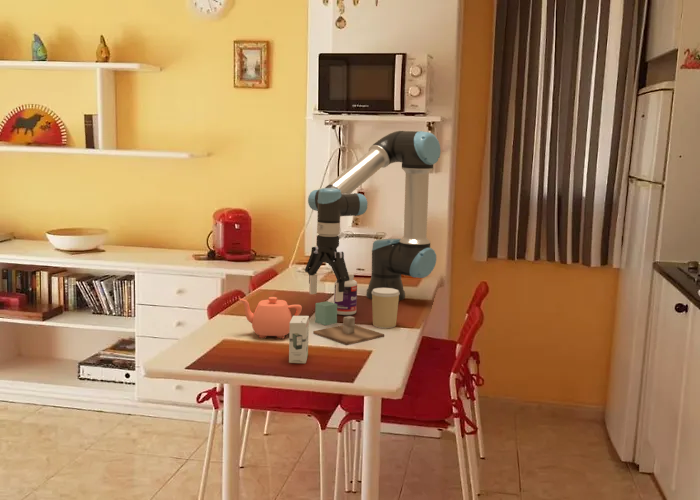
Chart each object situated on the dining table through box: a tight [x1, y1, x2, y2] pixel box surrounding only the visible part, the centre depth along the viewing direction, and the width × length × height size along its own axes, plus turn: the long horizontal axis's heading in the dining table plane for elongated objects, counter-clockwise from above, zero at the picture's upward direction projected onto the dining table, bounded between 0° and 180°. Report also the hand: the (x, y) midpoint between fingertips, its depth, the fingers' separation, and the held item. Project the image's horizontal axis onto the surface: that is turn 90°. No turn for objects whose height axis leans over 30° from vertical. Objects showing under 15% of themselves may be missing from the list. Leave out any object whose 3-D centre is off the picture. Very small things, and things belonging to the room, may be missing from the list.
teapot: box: [238, 296, 303, 340], centre depth 238 cm, size 13×20×12 cm, turn 91°
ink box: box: [288, 315, 310, 364], centre depth 215 cm, size 9×5×12 cm, turn 178°
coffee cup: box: [371, 288, 400, 329], centre depth 254 cm, size 9×9×12 cm
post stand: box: [312, 315, 385, 346], centre depth 241 cm, size 16×16×6 cm
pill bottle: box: [333, 271, 358, 316], centre depth 268 cm, size 8×8×14 cm
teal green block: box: [314, 300, 338, 326], centre depth 255 cm, size 5×5×7 cm
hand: (325, 297), depth 254 cm, fingers open, 13 cm apart
